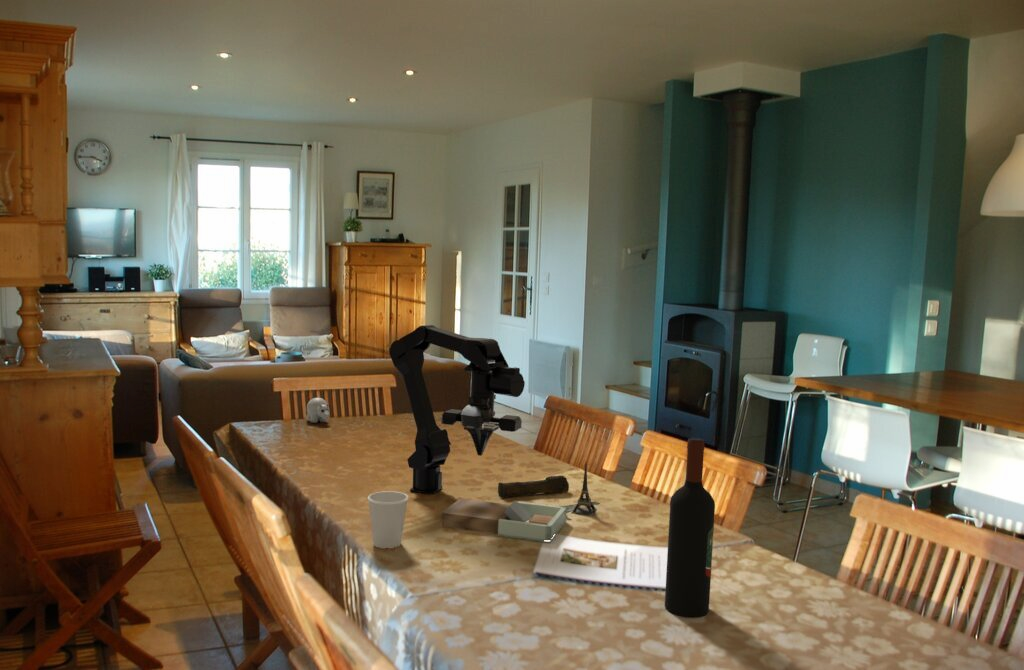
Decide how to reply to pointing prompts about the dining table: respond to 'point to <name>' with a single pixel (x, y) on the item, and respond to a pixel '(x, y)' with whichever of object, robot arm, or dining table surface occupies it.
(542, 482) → the hand tool
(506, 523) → the tray
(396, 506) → the dixie cup
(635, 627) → the dining table surface
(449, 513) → the plate
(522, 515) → the tile slate
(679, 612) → the wine bottle
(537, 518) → the tile terracotta
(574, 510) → the eiffel tower figurine
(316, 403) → the chubby cartoon animal
